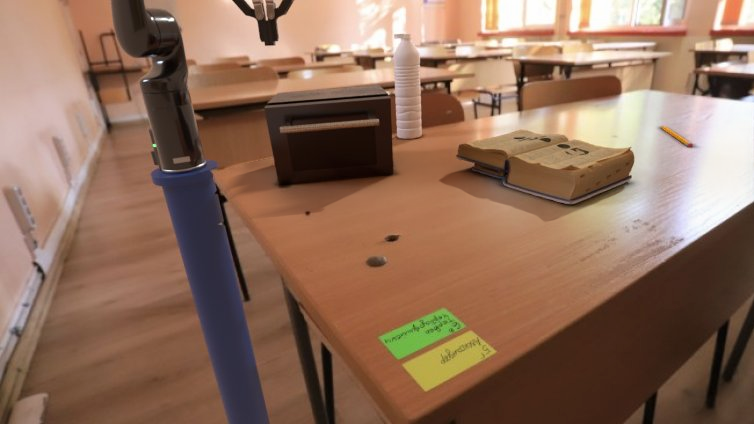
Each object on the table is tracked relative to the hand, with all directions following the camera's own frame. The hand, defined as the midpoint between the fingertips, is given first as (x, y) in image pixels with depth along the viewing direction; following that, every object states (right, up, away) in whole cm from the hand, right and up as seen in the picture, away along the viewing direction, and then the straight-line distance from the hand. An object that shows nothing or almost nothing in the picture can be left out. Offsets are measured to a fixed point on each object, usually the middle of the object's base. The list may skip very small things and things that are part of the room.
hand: (270, 45), depth 68 cm
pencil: (+84, -10, +25) cm, 88 cm away
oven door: (+10, -22, +11) cm, 26 cm away
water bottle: (+25, -8, +41) cm, 49 cm away
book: (+46, -21, +7) cm, 51 cm away
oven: (+9, -17, +21) cm, 29 cm away
